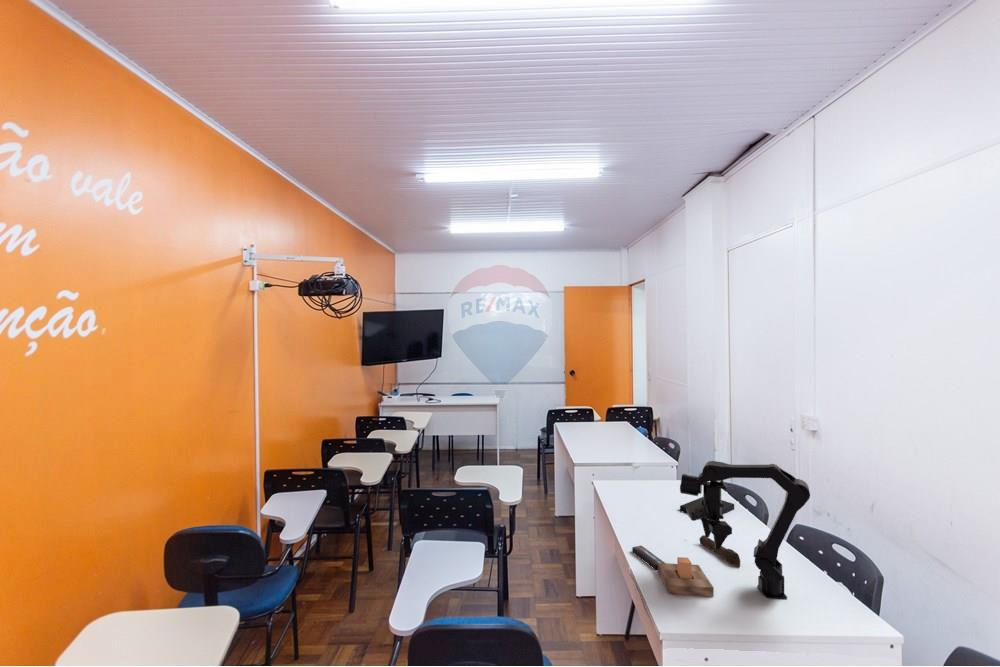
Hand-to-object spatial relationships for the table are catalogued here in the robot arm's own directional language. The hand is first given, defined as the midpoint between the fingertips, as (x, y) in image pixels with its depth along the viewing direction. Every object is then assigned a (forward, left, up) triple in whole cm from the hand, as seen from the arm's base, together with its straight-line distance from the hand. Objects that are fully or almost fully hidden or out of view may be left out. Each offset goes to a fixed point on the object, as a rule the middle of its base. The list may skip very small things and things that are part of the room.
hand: (712, 542), depth 155 cm
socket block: (+11, +5, -12) cm, 17 cm away
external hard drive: (-20, -60, -13) cm, 65 cm away
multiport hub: (+19, -10, -13) cm, 25 cm away
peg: (+11, +5, -12) cm, 17 cm away
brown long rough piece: (-10, -16, -12) cm, 23 cm away
